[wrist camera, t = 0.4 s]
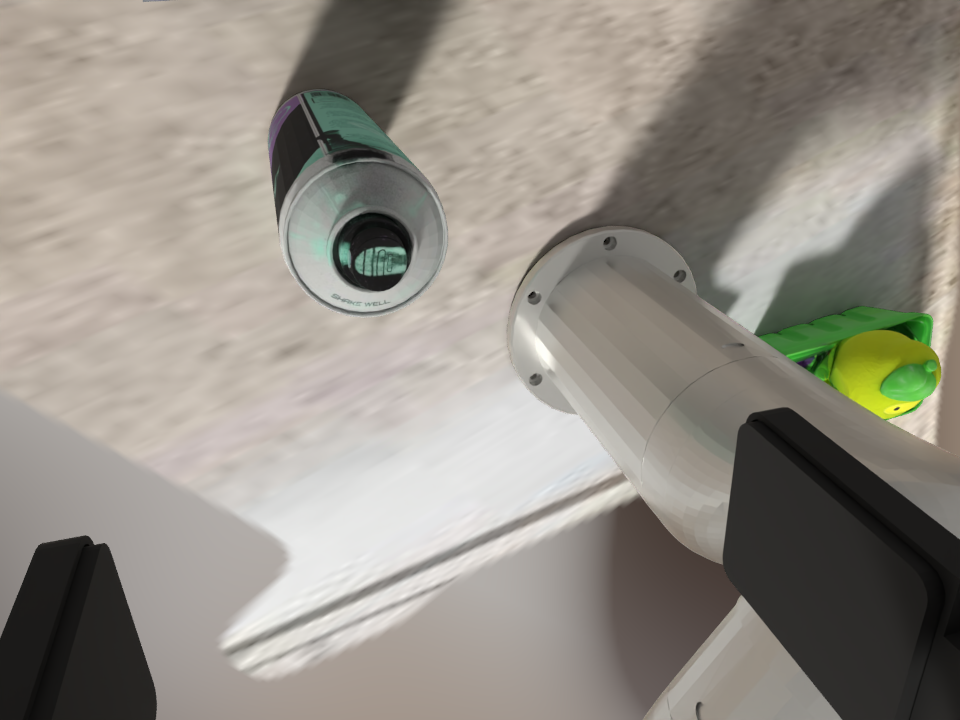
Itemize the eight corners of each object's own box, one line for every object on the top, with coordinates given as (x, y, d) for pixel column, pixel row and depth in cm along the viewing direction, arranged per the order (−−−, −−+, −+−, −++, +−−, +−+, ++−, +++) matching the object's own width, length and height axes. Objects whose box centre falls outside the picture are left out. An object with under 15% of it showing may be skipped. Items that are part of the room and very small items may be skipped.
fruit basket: (734, 420, 55) (838, 513, 46) (732, 311, 51) (846, 387, 41) (871, 376, 57) (999, 456, 47) (880, 267, 53) (1023, 331, 43)
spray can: (246, 120, 38) (244, 230, 21) (342, 68, 38) (419, 135, 21) (303, 214, 41) (343, 381, 24) (392, 165, 41) (498, 296, 24)
